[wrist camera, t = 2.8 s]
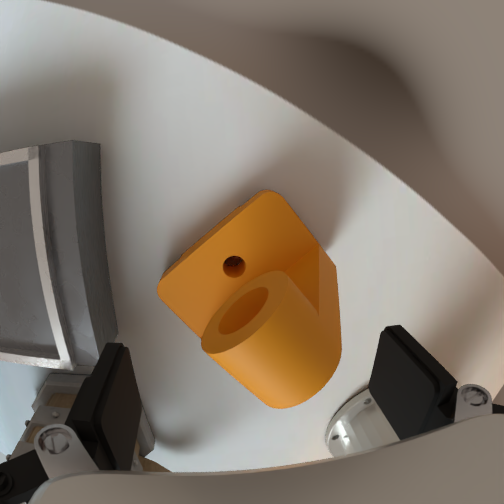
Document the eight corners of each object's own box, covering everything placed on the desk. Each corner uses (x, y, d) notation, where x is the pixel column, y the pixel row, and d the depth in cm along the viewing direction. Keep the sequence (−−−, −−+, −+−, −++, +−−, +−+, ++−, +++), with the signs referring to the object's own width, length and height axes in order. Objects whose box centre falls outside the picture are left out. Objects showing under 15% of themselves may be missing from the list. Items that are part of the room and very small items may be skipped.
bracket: (267, 183, 23) (316, 202, 12) (324, 256, 25) (401, 327, 14) (157, 276, 24) (115, 366, 13) (219, 338, 26) (225, 449, 15)
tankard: (28, 412, 27) (-22, 507, 12) (64, 349, 25) (-9, 468, 11) (169, 492, 32) (165, 589, 17) (231, 450, 30) (244, 571, 16)
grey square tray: (99, 143, 21) (66, 139, 15) (118, 333, 25) (98, 373, 19) (-38, 169, 19) (-79, 174, 14) (-13, 324, 23) (-43, 351, 18)
